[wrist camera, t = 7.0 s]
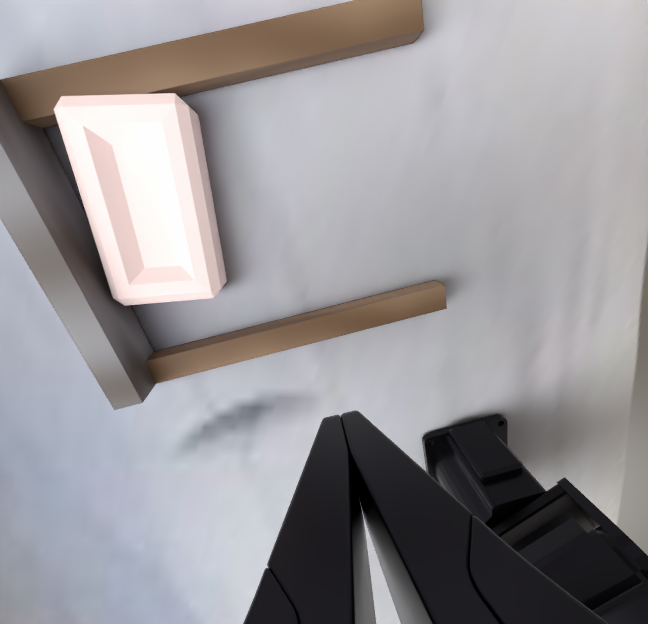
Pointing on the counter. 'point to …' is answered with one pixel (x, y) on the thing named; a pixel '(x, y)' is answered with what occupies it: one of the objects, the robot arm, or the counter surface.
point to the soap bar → (145, 194)
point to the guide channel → (182, 79)
